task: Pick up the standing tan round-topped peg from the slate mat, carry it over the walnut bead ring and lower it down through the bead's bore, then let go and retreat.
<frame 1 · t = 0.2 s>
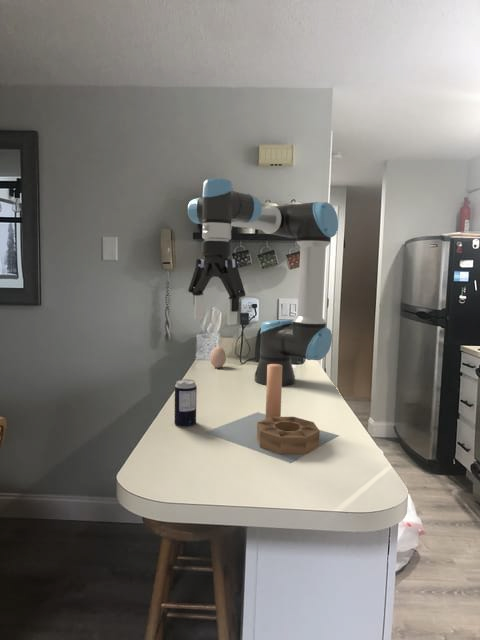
hand: (214, 321, 119), 28 cm above the worktop, fingers open, 13 cm apart
mat: (271, 436, 113), on the worktop
bead: (287, 442, 107), resting on mat
tan round-topped peg: (272, 424, 120), point 1 cm above the worktop, touching mat
beverage can: (185, 426, 118), on the worktop
egg: (217, 368, 188), on the worktop
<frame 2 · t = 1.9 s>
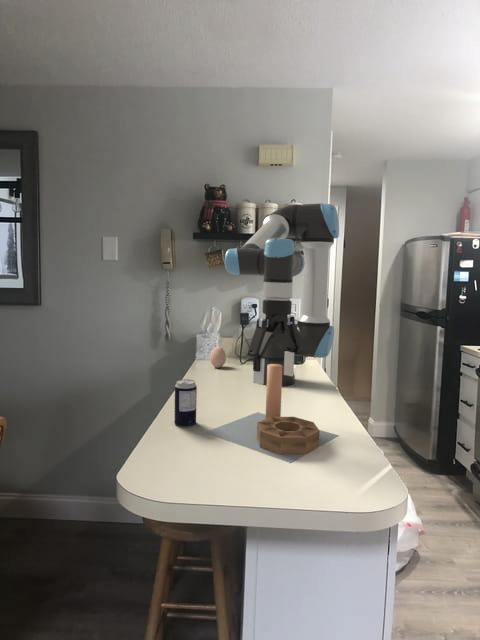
hand: (274, 379, 118), 13 cm above the worktop, fingers open, 13 cm apart
nothing on the worktop moved.
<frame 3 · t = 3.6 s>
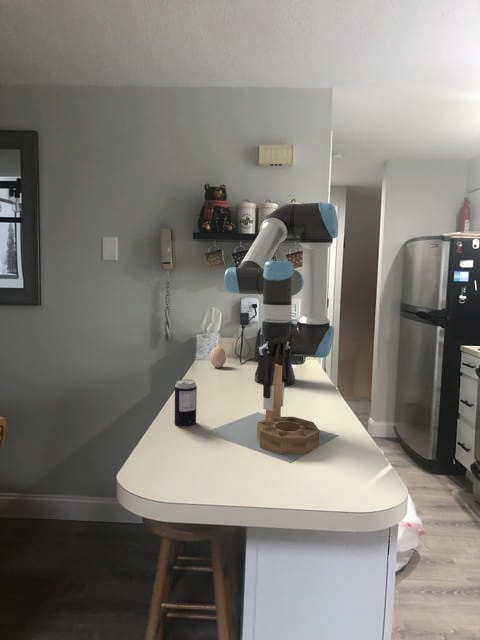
hand: (273, 407, 119), 5 cm above the worktop, fingers closed on tan round-topped peg, 4 cm apart
tan round-topped peg: (272, 424, 120), point 1 cm above the worktop, touching gripper, mat
everything else where it was.
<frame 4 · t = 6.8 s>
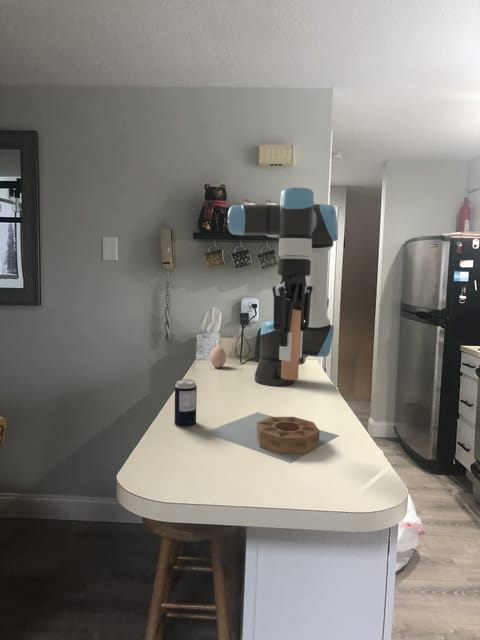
hand: (290, 358, 105), 21 cm above the worktop, fingers closed on tan round-topped peg, 4 cm apart
tan round-topped peg: (289, 377, 105), point 17 cm above the worktop, touching gripper
everything else where it was.
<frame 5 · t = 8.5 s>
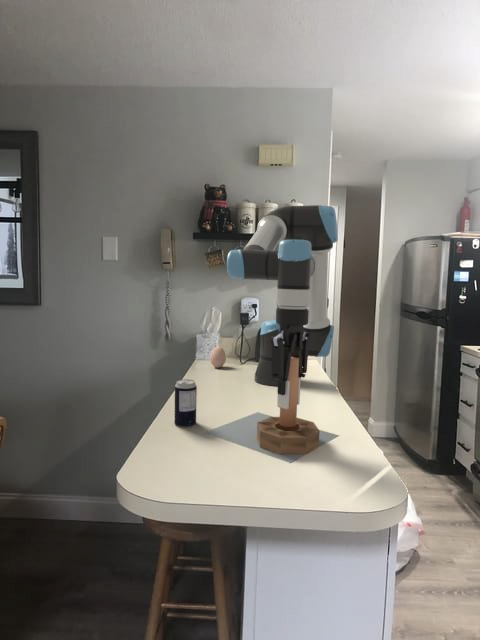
hand: (288, 405, 106), 10 cm above the worktop, fingers closed on tan round-topped peg, 4 cm apart
tan round-topped peg: (287, 424, 107), point 5 cm above the worktop, touching gripper
everything else where it was.
when the fingers open (7 cm above the worktop, at t = 9.8 s): tan round-topped peg drops 1 cm, resting on mat.
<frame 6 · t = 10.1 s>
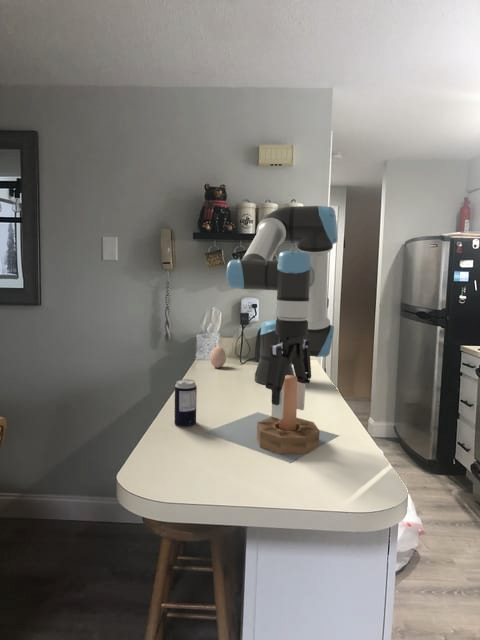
hand: (288, 412, 106), 8 cm above the worktop, fingers open, 8 cm apart
tan round-topped peg: (287, 442, 107), point 1 cm above the worktop, touching mat
everything else where it was.
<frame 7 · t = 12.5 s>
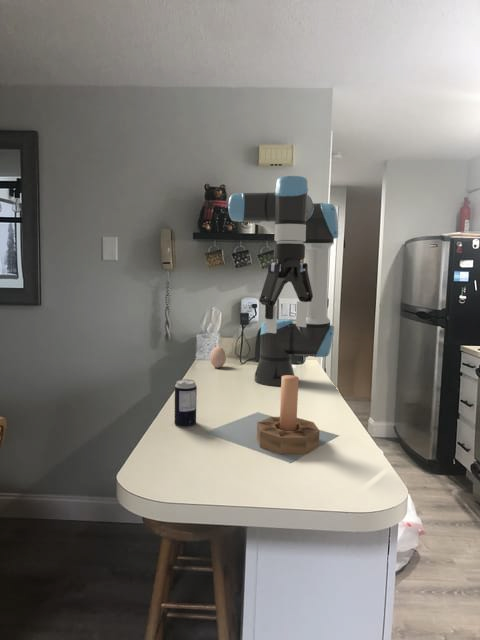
hand: (286, 329, 111), 27 cm above the worktop, fingers open, 13 cm apart
nothing on the worktop moved.
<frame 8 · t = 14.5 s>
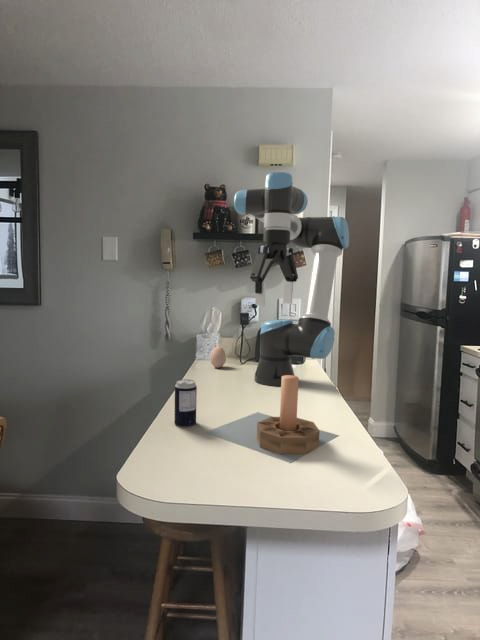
hand: (274, 304, 129), 32 cm above the worktop, fingers open, 13 cm apart
nothing on the worktop moved.
at the end: tan round-topped peg 0.1 cm off-centre on the bead, point 0.0 cm above the bead's base; tan round-topped peg tilted 0°; the gripper is holding nothing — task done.
